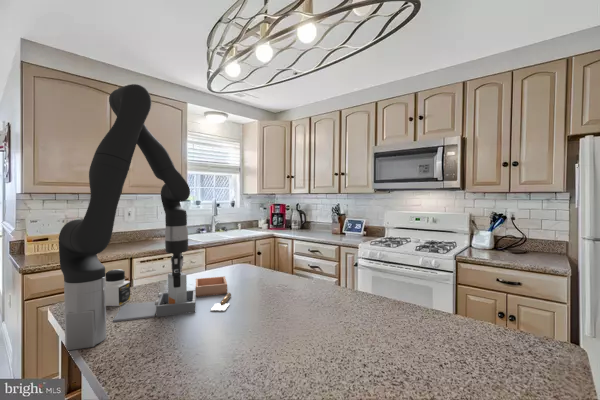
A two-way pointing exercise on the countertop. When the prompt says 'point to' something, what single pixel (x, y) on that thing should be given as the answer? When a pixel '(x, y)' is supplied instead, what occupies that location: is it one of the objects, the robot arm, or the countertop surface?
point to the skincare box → (177, 290)
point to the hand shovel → (221, 305)
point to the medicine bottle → (117, 288)
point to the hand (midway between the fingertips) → (177, 283)
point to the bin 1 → (156, 308)
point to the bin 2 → (211, 286)
